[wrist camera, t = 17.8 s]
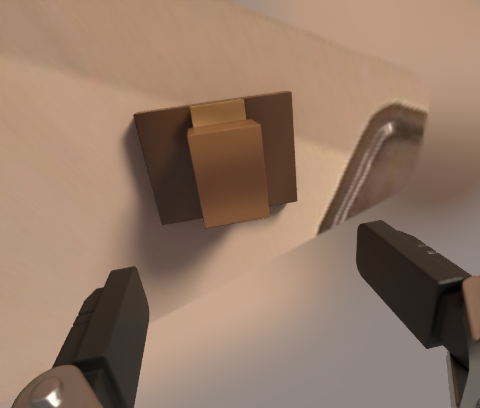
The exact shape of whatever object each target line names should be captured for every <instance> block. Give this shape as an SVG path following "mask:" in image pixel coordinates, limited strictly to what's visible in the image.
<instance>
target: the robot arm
mask: <svg viewBox="0 0 480 408" xmlns="http://www.w3.org/2000/svg"><path fill="white" fill-rule="evenodd" d="M356 264H357V268H358V270H359V273H360V275H361V276H362V277H363V279H364V280H365V281H366V282H367V283H368V284H369V285H370V286H371V287H372V288H373V289H374V291H375V292H376V293H377V294H378V295H379V296H380V298H381V299H382V300H383V301H384V302H385V303H386V304H387V305H388V306H389V308H391V310H392V311H393V312H394V313H395V314H396V315H397V316H398V317H399V319H400V320H401V321H402V322H403V323H404V324H405V325H406V327H407V328H408V329H409V330H410V331H411V332H412V333H413V334H414V335H415V337H416V338H417V339H418V340H419V341H420V342H421V343H422V344H423V346H424V347H425V348H426V349H429V348H433V347H437V346H441V345H443V346H444V347H445V348H447V350H448V352H447V356H446V362H447V371H448V381H449V390H450V399H451V408H480V276H471V275H470V274H469V273H467V272H466V271H464V270H463V269H461V268H460V267H458V266H457V265H455V264H454V263H452V262H451V261H450V260H448V259H447V258H445V257H444V256H442V255H441V254H439V253H436V251H435V250H433V249H432V248H430V247H429V246H426V244H424V243H423V242H421V241H420V240H418V239H417V238H416V237H414V236H411V235H409V234H406V233H404V232H401V231H397V230H395V229H394V228H392V227H391V226H390V225H388V224H387V223H385V222H384V221H381V220H379V221H374V222H368V223H363V224H360V225H359V227H358V230H357V251H356ZM78 314H79V316H77V318H76V320H75V322H74V324H73V327H72V328H71V330H70V332H69V334H68V336H67V338H66V340H65V342H64V344H63V346H62V348H61V350H60V352H59V355H58V357H57V359H56V361H55V363H54V365H53V367H52V369H50V370H48V371H46V372H44V373H42V374H41V375H39V376H38V377H36V378H35V379H34V380H32V381H31V382H30V383H29V384H28V385H27V386H26V387H25V388H24V389H23V390H22V391H21V392H20V394H19V395H18V396H17V398H16V399H15V401H14V403H13V405H12V408H134V404H135V398H136V392H137V386H138V380H139V375H140V369H141V363H142V358H143V352H144V346H145V341H146V335H147V328H148V323H149V306H148V302H147V298H146V295H145V292H144V289H143V286H142V282H141V279H140V276H139V273H138V270H137V268H136V267H135V266H133V267H128V268H123V269H117V270H112V271H111V272H110V274H109V276H108V279H107V281H106V284H105V286H104V287H103V288H98V289H96V290H95V291H94V292H93V293H92V294H91V295H90V296H89V297H88V298H87V299H86V300H85V301H84V303H83V305H82V307H81V309H80V311H79V313H78Z"/></svg>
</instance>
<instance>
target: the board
mask: <svg viewBox="0 0 480 408" xmlns="http://www.w3.org/2000/svg"><path fill="white" fill-rule="evenodd" d="M238 99H243V100H244V106H245V115H246V119H252V120H254V121H255V122H257V123H258V124H260V125H261V134H262V145H263V155H264V165H265V176H266V186H267V196H268V206H273V205H279V204H285V203H290V202H296V201H297V187H296V167H295V148H294V129H293V110H292V92H291V91H283V92H276V93H269V94H262V95H255V96H248V97H241V98H234V99H227V100H220V101H213V102H206V103H199V104H192V105H185V106H178V107H171V108H164V109H158V110H151V111H144V112H137V113H135V114H134V119H135V123H136V127H137V130H138V134H139V138H140V142H141V146H142V150H143V153H144V157H145V161H146V165H147V169H148V173H149V176H150V180H151V184H152V188H153V192H154V195H155V199H156V203H157V207H158V211H159V215H160V218H161V222H162V225H166V224H171V223H177V222H183V221H188V220H194V219H200V218H203V215H202V210H201V205H200V200H199V195H198V190H197V185H196V179H195V174H194V169H193V164H192V159H191V154H190V149H189V144H188V139H187V133H188V128H193V124H192V119H191V114H190V106H197V105H204V104H211V103H218V102H224V101H231V100H238Z"/></svg>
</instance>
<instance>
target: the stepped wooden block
mask: <svg viewBox="0 0 480 408" xmlns="http://www.w3.org/2000/svg"><path fill="white" fill-rule="evenodd" d="M190 114H191V119H192V124H193V128H188V133H187V139H188V144H189V149H190V154H191V159H192V164H193V169H194V174H195V179H196V185H197V190H198V195H199V200H200V205H201V210H202V215H203V220H204V225H205V228H211V227H216V226H222V225H227V224H233V223H238V222H244V221H249V220H255V219H260V218H266V217H269V207H268V196H267V186H266V176H265V165H264V155H263V145H262V134H261V125H260V124H258V123H257V122H255V121H254V120H252V119H246V115H245V106H244V100H243V99H238V100H231V101H224V102H218V103H211V104H204V105H197V106H190Z"/></svg>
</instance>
